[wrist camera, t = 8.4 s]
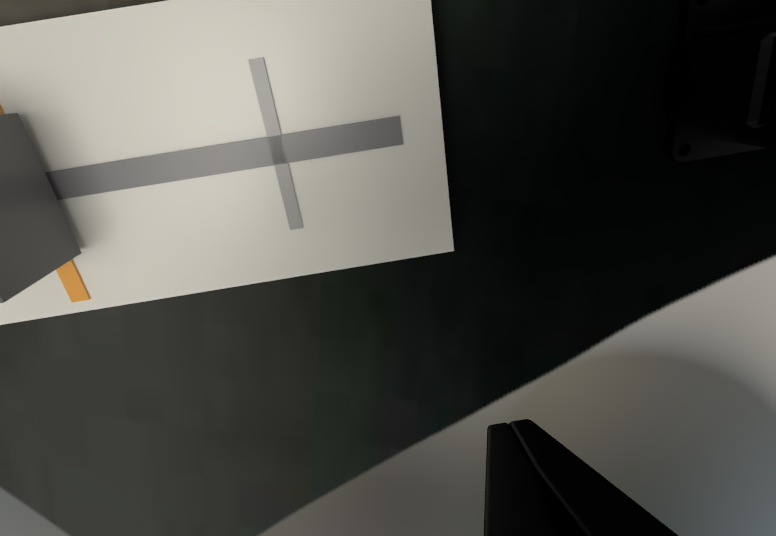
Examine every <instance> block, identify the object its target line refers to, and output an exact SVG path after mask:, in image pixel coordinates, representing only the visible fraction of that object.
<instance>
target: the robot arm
mask: <svg viewBox="0 0 776 536" xmlns="http://www.w3.org/2000/svg"><path fill="white" fill-rule="evenodd" d="M669 114H670V122H669V132H668V142H667V156H668V157H669V158H670V159H671V160H674V161H678V162H686V161H692V160H698V159H704V158H710V157H716V156H723V155H729V154H735V153H741V152H747V151H754V150H760V149H766V148H770V149H776V0H701V3H700V5H699V6H698V5H697V4H696V0H683V1H682V8H681V18H680V27H679V37H678V46H677V49H676V51H675V61H674V70H673V80H672V90H671V99H670V109H669ZM683 144H684V149H683V151H682V152H681V153H680V154H679V148H680V147H681V146H682V145H683ZM484 513H485V514H484V536H678V535H677V534H676V533H674V532H673V531H672V530H671V529H669V528H668V527H667V526H665V525H664V524H663V523H662V522H660V521H659V520H658V519H656V518H655V517H654V516H653V515H651V514H650V513H649V512H648V511H646V510H645V509H644V508H643V507H641V506H640V505H639V504H637V503H636V502H635V501H634V500H632V499H631V498H630V497H628V496H627V495H626V494H625V493H623V492H622V491H621V490H620V489H618V488H617V487H616V486H614V485H613V484H612V483H611V482H609V481H608V480H607V479H605V478H604V477H603V476H601V475H600V474H599V473H598V472H597V471H595V470H594V469H593V468H591V467H590V466H589V465H588V464H586V463H585V462H584V461H583V460H581V459H580V458H579V457H577V456H576V455H575V454H574V453H572V452H571V451H570V450H568V449H567V448H566V447H565V446H563V445H562V444H561V443H560V442H558V441H557V440H556V439H554V438H553V437H552V436H550V435H549V434H548V433H547V432H545V431H544V430H543V429H542V428H540V427H539V426H538V425H537V424H535V423H534V422H533V421H531V420H529V419H524V420H518V421H512V422H510V423H509V424H507V423H501V424H494V425H490V426H488V429H487V455H486V483H485V511H484Z"/></svg>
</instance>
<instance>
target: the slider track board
mask: <svg viewBox="0 0 776 536" xmlns="http://www.w3.org/2000/svg"><path fill="white" fill-rule="evenodd" d="M11 113H18V114H19V117H20V119H21V121H22V123H23V125H24V128H25V130H26V132H27V134H28V136H29V138H30V141H31V143H32V145H33V147H34V149H35V152H36V154H37V156H38V158H39V160H40V163H41V165H42V167H43V169H44V171H45V174H46V176H47V178H48V180H49V182H50V185H51V187H52V189H53V191H54V193H55V195H56V198H57V200H58V202H59V204H60V206H61V209H62V211H63V213H64V215H65V217H66V220H67V222H68V224H69V226H70V228H71V231H72V233H73V235H74V237H75V239H76V242H77V244H78V246H79V248H80V250H81V252H82V253H81V254H79V255H78V256H76V257H75V258H73V259H72V260H70V261H69V262H67V263H65V264H64V265H62V266H61V267H59V268H58V269H56V270H54V271H53V272H51V273H50V274H48V275H47V276H45V277H43V278H42V279H40V280H39V281H37V282H36V283H34V284H32V285H31V286H29V287H28V288H26V289H25V290H23V291H22V292H20V293H18V294H17V295H15V296H14V297H12V298H11V299H9V300H7V301H6V302H4V303H0V325H3V324H9V323H15V322H21V321H27V320H33V319H39V318H46V317H52V316H58V315H64V314H70V313H76V312H82V311H88V310H95V309H101V308H107V307H113V306H119V305H125V304H131V303H138V302H144V301H150V300H156V299H162V298H168V297H174V296H181V295H187V294H193V293H199V292H205V291H211V290H217V289H224V288H230V287H236V286H242V285H248V284H254V283H260V282H267V281H273V280H279V279H285V278H291V277H297V276H303V275H310V274H316V273H322V272H328V271H334V270H340V269H346V268H353V267H359V266H365V265H371V264H377V263H383V262H389V261H395V260H402V259H408V258H414V257H420V256H426V255H432V254H438V253H445V252H451V251H454V246H453V235H452V224H451V213H450V202H449V192H448V181H447V170H446V159H445V148H444V137H443V126H442V116H441V105H440V94H439V83H438V72H437V61H436V50H435V40H434V29H433V18H432V7H431V0H168V1H161V2H155V3H148V4H142V5H136V6H129V7H123V8H117V9H110V10H104V11H98V12H91V13H85V14H78V15H72V16H66V17H59V18H53V19H47V20H40V21H34V22H27V23H21V24H15V25H8V26H2V27H0V115H1V114H11Z"/></svg>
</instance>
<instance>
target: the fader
mask: <svg viewBox="0 0 776 536" xmlns="http://www.w3.org/2000/svg"><path fill="white" fill-rule="evenodd" d="M81 253H82V252H81V250H80V248H79V246H78V244H77V242H76V239H75V237H74V235H73V233H72V231H71V228H70V226H69V224H68V222H67V220H66V217H65V215H64V213H63V211H62V209H61V206H60V204H59V202H58V200H57V198H56V195H55V193H54V191H53V189H52V187H51V185H50V182H49V180H48V178H47V176H46V174H45V171H44V169H43V167H42V165H41V163H40V160H39V158H38V156H37V154H36V152H35V149H34V147H33V145H32V143H31V141H30V138H29V136H28V134H27V132H26V130H25V128H24V125H23V123H22V121H21V119H20V117H19V114H18V113H11V114H1V115H0V303H4V302H6V301H7V300H9V299H11V298H12V297H14V296H15V295H17V294H18V293H20V292H22V291H23V290H25V289H26V288H28V287H29V286H31V285H32V284H34V283H36V282H37V281H39V280H40V279H42V278H43V277H45V276H47V275H48V274H50V273H51V272H53V271H54V270H56V269H58V268H59V267H61V266H62V265H64V264H65V263H67V262H69V261H70V260H72V259H73V258H75V257H76V256H78V255H79V254H81Z"/></svg>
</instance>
